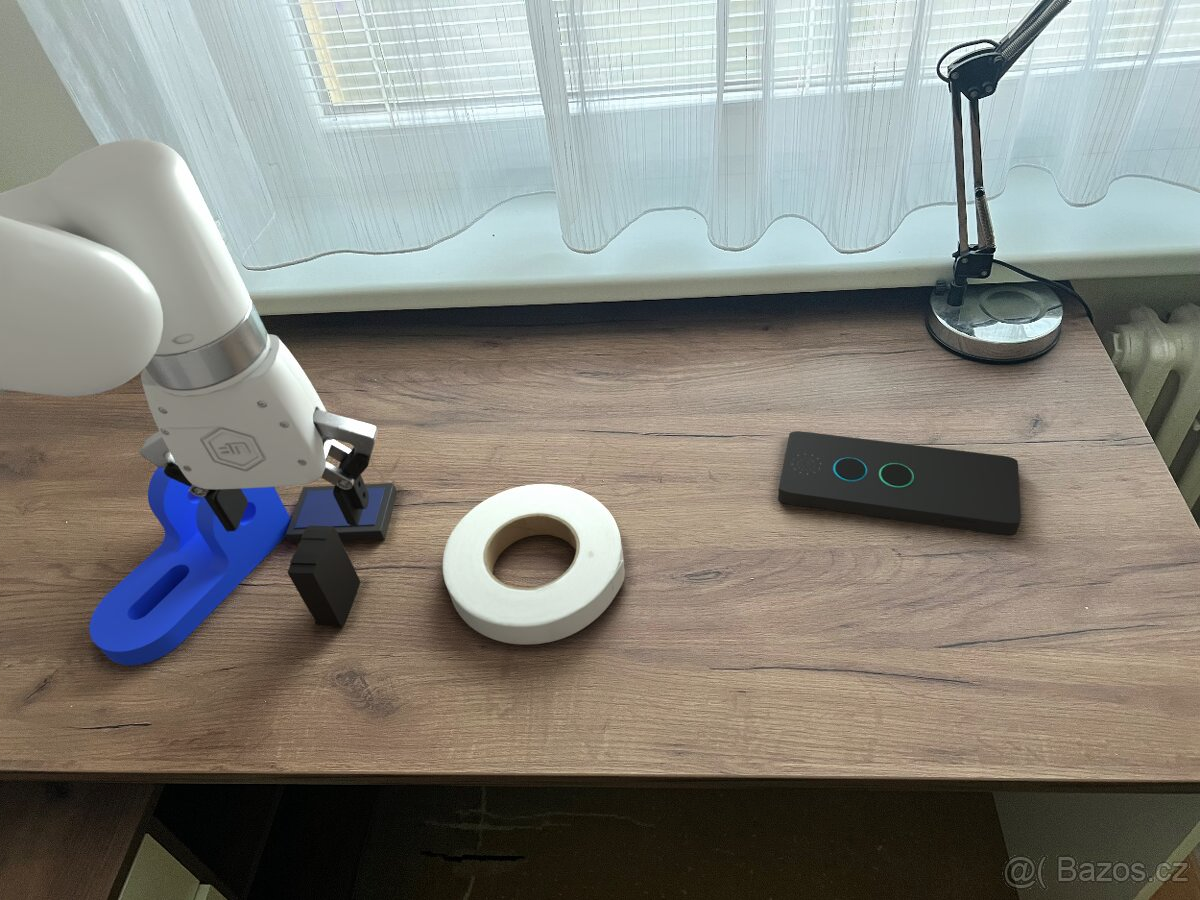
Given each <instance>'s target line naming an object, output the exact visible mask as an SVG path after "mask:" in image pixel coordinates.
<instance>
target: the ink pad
mask: <svg viewBox="0 0 1200 900" xmlns="http://www.w3.org/2000/svg"><path fill="white" fill-rule="evenodd" d="M365 486H366V488H367V490H368V493H369V503H368V506H367V508H366V509H363V511H362V514H361V518H360V521H359V524H358V525H357V526H350V524H347V522H346V520H345V517H344V515H343V513H342V511H341V509H340V507H339V505H338V503H337V501H336V499H335V497H334V495H333V490H334V487H335V485H318V486H303V487H302V490H301V493H300V494H299V497H298V499H297V503H296V506H295V509H294V511H293V513H292V517H291V522H290V524H289V527H288V530H287V532H286V539H287V540H288V542H289V544H290V545H299V543H300V541H301V537H302V535H303V533H304V531H305V530H307V528H308V526H334V529H335V530H336V531H337V533H338V535H339V537H340V539H341V541H342V543H352V542H376V541H379V542H380V541H385V540H386V536H387V533H388V529H389V525H390V521H391V518H392V514H393V511H394V507H395V502H396V499H397V496H398V491H397V488H396V485H395V483H394V482H384V483H383V482H382V483H365Z"/></svg>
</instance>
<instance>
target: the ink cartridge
mask: <svg viewBox="0 0 1200 900" xmlns="http://www.w3.org/2000/svg"><path fill="white" fill-rule="evenodd" d="M297 545H298V546H297V547H296V550H295V552H294V553H293V555H292V557H291V560H290V565H289V567H288V570H287V572H286V573H287V574H288V577H289V578H290V580H291V582H292V583H293V585H294V587H295V588H296V591H297V592H298V594H299V595H300V597H301V600H302V601H303V602H304V604H305V606H306V608H307V610H308V611H309V613H310V615H311V617H312V619H313V620H314V624H315V626H318V627H319V626H321V627H341V628H343V627H344V626H345V625H346V623H347V620H348V618H349V615H350V612H351V609H352V607H353V604H354V601H355V599H356V596H357V593H358V590H359V587H360V584H361V580H360V577H359V576H358V573H357V571H356V569H355V568H354V565H353V562H352V561H351V558H350V557H349V554H348V551H347V550H346V548H345V545H344V543H343V542H342V541H341V539H340V537H339V535H338V533H337V531H336V530H335V529H334V526H308V528H307V530H305V531H304V533H303V535H302V537H301V541H300V543H299V544H297Z"/></svg>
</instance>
